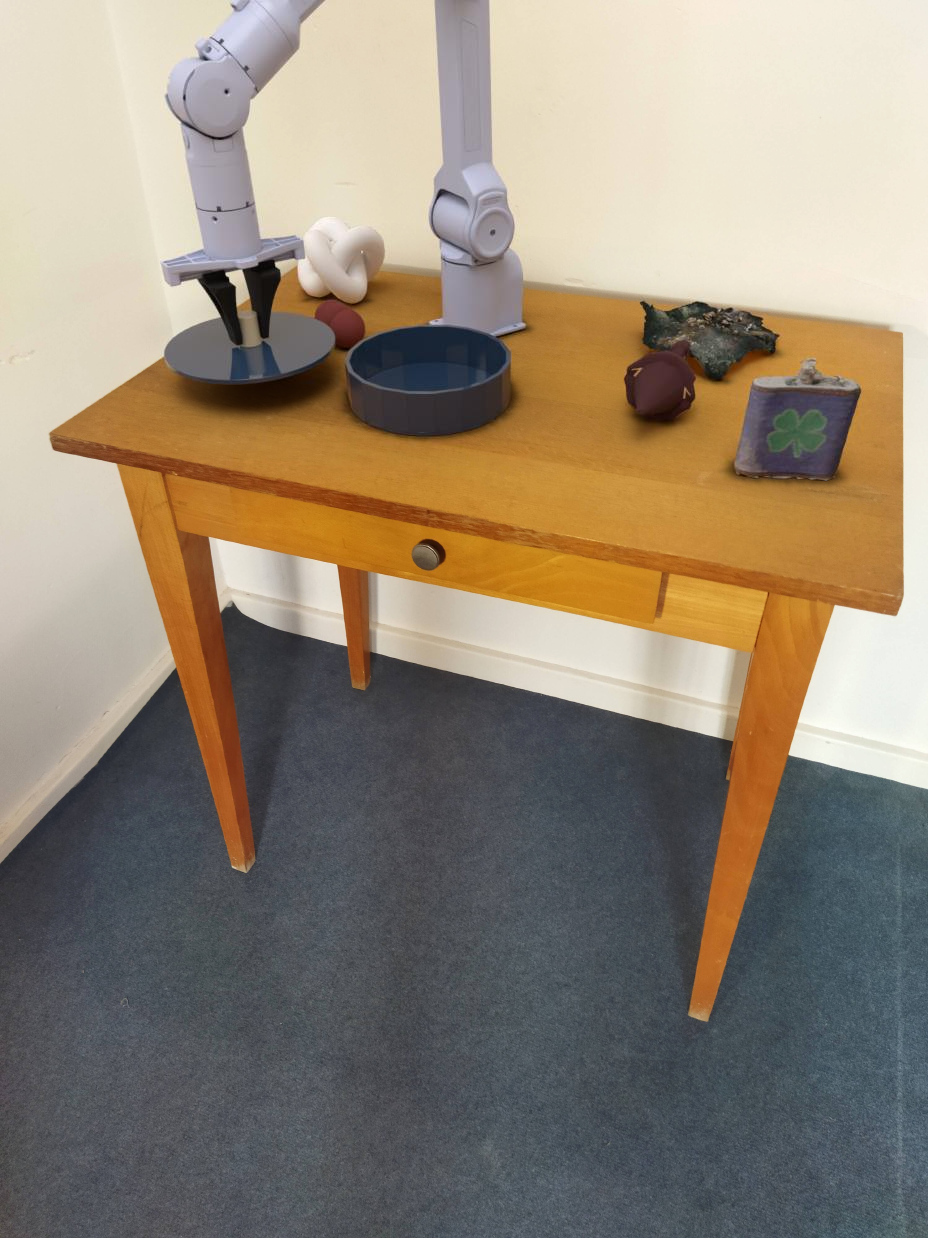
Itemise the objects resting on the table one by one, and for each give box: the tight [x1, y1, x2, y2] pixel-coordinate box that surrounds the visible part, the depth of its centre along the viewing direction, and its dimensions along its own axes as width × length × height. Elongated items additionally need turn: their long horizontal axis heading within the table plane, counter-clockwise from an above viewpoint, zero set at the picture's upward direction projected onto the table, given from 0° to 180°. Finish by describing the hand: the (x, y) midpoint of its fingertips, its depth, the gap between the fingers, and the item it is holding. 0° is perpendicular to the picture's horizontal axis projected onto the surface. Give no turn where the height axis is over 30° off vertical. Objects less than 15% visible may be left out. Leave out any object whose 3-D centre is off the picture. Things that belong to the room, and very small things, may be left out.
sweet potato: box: [313, 299, 366, 349], centre depth 105 cm, size 4×8×4 cm, turn 33°
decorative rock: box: [639, 300, 780, 382], centre depth 102 cm, size 19×6×15 cm
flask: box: [733, 357, 862, 481], centre depth 78 cm, size 9×3×11 cm, turn 83°
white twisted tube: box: [296, 216, 386, 304], centre depth 116 cm, size 11×12×9 cm
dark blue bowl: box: [344, 324, 512, 437], centre depth 93 cm, size 17×17×5 cm
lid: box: [163, 309, 337, 385], centre depth 94 cm, size 18×18×4 cm
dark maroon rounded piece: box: [623, 340, 697, 422], centre depth 88 cm, size 7×7×15 cm
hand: (249, 338), depth 95 cm, fingers closed on lid, 2 cm apart
